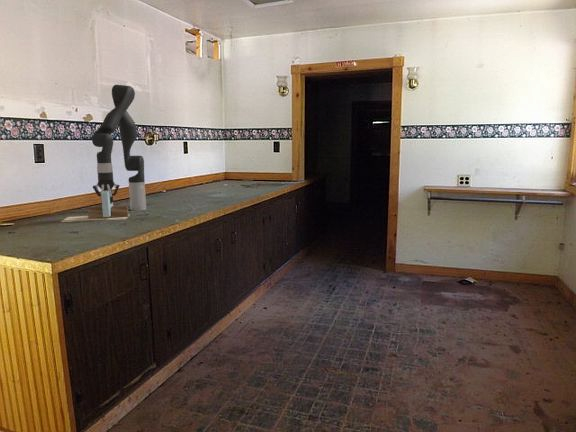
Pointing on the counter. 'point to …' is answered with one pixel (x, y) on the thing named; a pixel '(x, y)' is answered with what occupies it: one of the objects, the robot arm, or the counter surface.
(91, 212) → the walnut slotted plate
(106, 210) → the slotted cross plate
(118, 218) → the birch board
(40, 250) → the counter surface
